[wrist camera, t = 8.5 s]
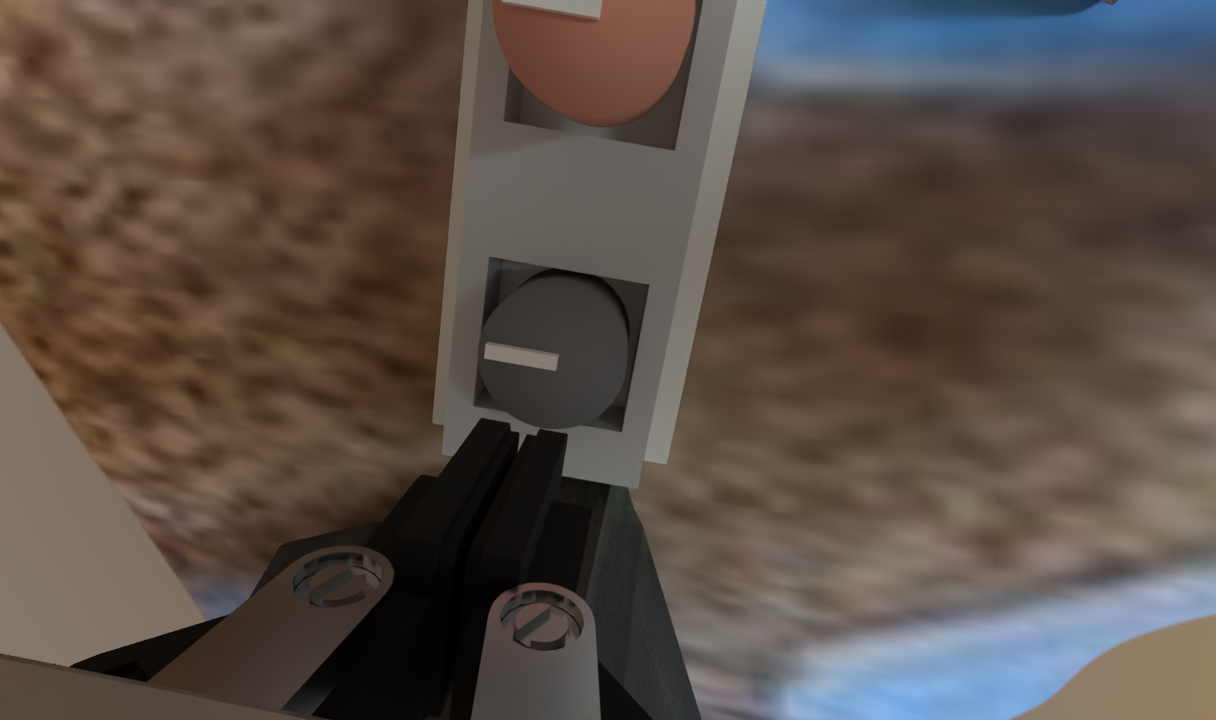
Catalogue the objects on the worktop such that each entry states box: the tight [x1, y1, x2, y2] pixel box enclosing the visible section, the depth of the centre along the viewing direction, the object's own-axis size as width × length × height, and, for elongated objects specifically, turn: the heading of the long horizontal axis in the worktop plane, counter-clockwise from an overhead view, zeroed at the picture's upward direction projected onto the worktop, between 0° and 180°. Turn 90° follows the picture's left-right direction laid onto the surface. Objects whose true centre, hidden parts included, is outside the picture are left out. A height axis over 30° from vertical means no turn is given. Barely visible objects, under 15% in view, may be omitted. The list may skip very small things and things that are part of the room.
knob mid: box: [492, 0, 695, 127], centre depth 17 cm, size 5×5×4 cm
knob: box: [478, 268, 630, 429], centre depth 22 cm, size 5×5×4 cm
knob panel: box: [432, 0, 767, 489], centre depth 22 cm, size 10×30×6 cm, turn 171°
